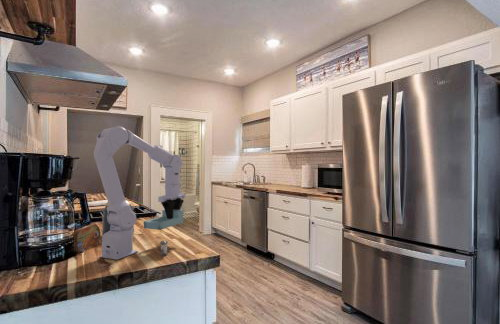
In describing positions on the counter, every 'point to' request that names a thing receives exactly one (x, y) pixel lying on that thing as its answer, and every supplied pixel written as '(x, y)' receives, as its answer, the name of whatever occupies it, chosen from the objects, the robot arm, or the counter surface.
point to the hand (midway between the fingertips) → (172, 217)
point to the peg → (163, 248)
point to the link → (164, 220)
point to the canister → (105, 223)
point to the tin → (86, 237)
